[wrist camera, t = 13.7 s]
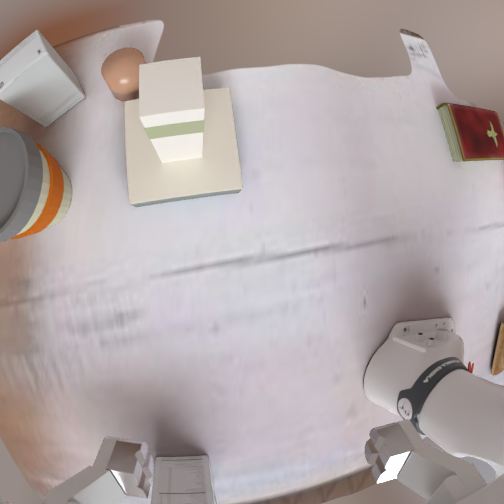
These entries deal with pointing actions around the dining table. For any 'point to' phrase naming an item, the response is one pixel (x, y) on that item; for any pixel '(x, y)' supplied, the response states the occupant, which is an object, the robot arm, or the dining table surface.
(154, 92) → the carton
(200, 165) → the podium
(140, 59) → the peach cylinder
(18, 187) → the reusable coffee cup
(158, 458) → the supplement box
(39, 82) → the skincare box
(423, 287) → the dining table surface
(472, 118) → the hardcover book
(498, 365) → the tan ankle boot
